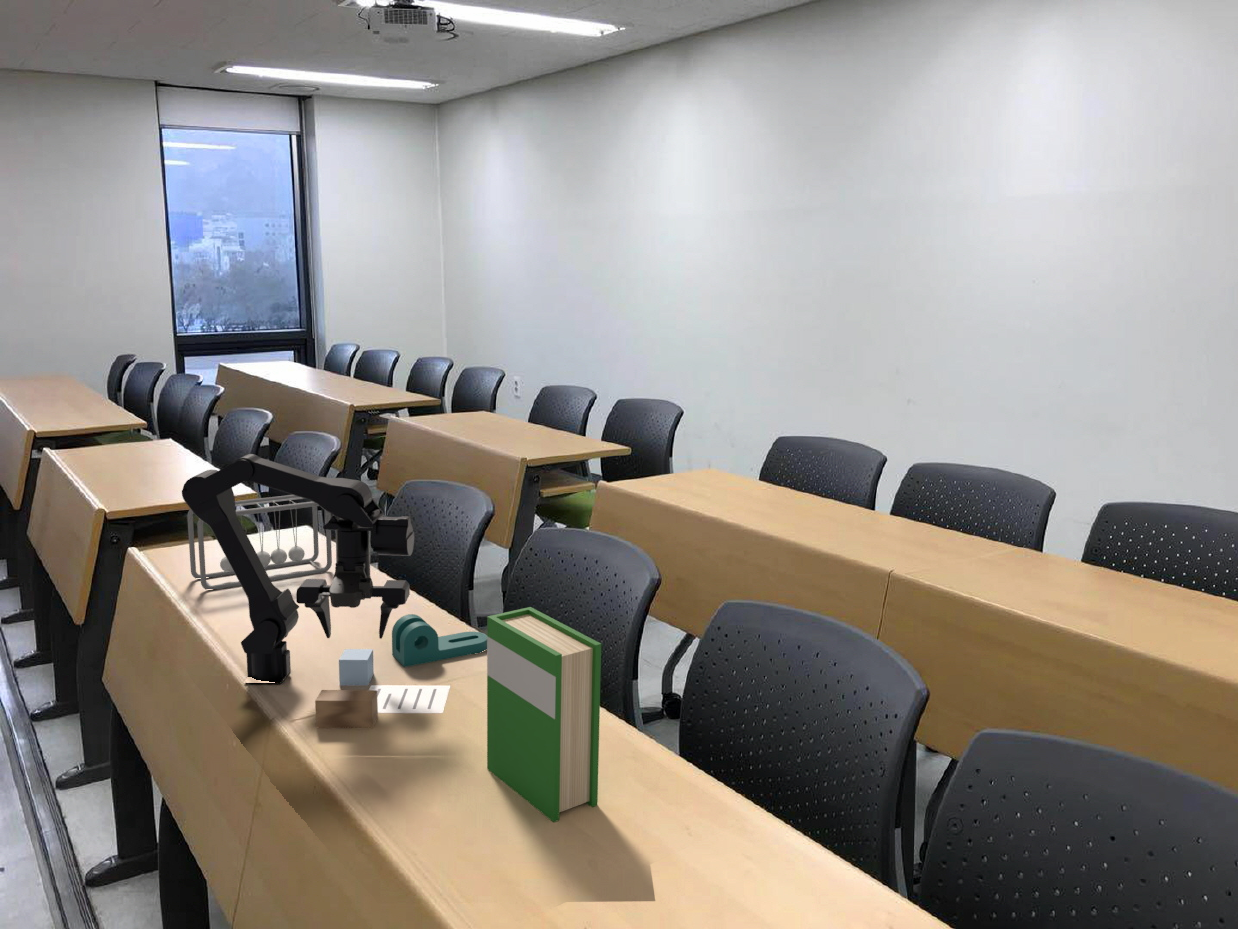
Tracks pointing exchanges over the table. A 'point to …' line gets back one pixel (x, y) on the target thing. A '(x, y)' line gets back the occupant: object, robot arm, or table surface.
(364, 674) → the cube
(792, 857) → the table surface
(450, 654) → the bracket
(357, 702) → the walnut block
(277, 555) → the newton's cradle
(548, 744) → the hardback book
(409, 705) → the letter
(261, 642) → the robot arm
